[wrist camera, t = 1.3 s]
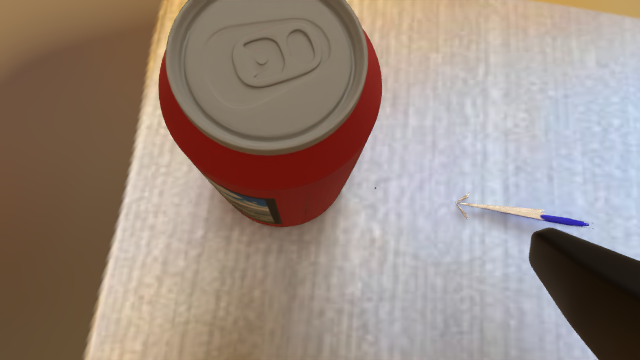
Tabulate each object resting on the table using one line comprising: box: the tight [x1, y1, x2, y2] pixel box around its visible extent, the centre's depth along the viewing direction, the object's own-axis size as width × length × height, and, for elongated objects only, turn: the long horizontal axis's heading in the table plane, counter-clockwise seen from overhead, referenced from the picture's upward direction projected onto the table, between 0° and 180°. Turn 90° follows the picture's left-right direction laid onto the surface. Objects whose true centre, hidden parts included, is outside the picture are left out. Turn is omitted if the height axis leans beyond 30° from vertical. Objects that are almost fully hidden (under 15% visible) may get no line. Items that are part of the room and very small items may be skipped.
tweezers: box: [375, 187, 593, 229], centre depth 23 cm, size 2×12×1 cm, turn 80°
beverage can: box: [159, 0, 382, 227], centre depth 17 cm, size 7×7×12 cm
